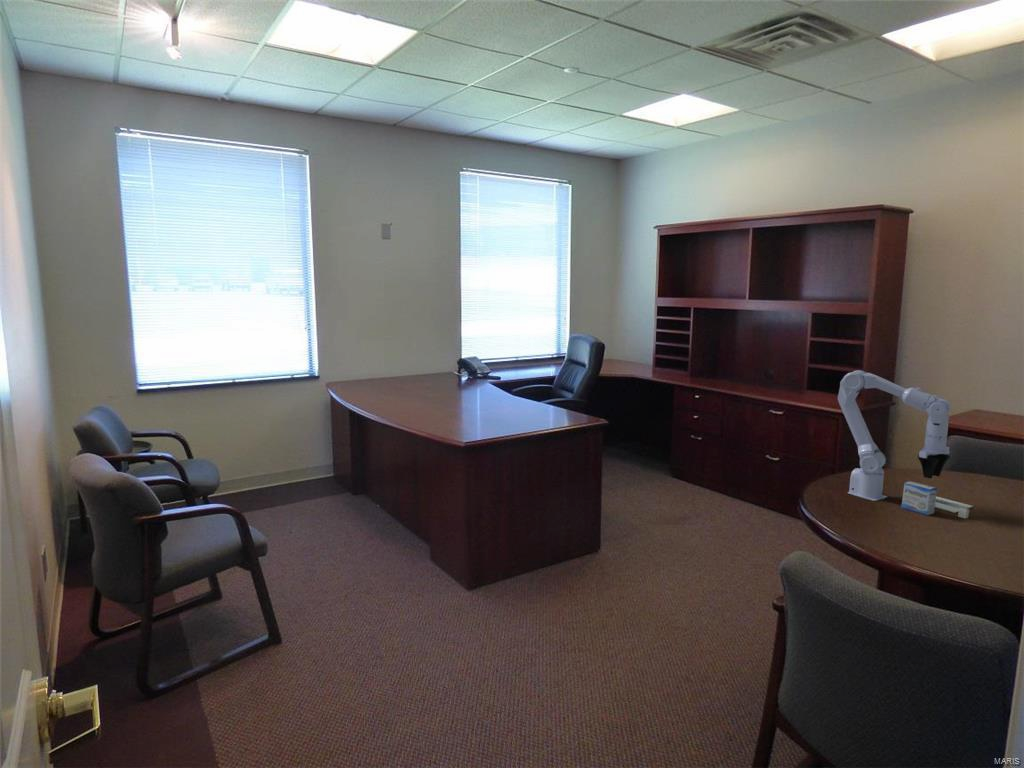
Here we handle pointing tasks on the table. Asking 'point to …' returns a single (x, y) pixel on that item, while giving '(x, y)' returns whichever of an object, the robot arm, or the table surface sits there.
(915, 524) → the table surface
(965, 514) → the gray bar handle
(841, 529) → the table surface
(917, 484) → the medicine box
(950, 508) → the sage mat
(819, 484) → the table surface
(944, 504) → the grey bar
